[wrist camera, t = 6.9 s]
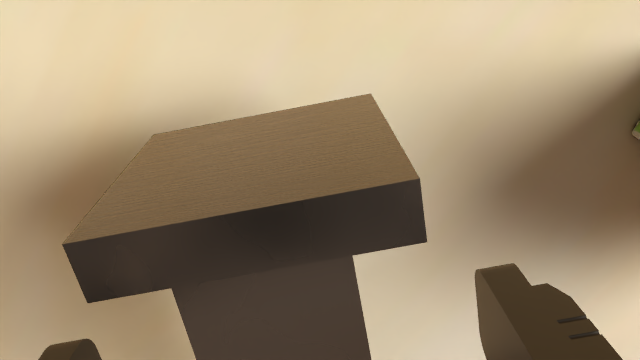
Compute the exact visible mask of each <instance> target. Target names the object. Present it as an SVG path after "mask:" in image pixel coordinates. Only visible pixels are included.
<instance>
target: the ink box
mask: <svg viewBox="0 0 640 360" xmlns="http://www.w3.org/2000/svg"><path fill="white" fill-rule="evenodd" d="M632 135H633V136H634V137H636V138H637V139H639V140H640V120H639V121H638V123H637V124H636V126H635V128H634V130H633V131H632Z"/></svg>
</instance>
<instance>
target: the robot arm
mask: <svg viewBox="0 0 640 360" xmlns="http://www.w3.org/2000/svg"><path fill="white" fill-rule="evenodd" d="M475 285H476V297H477V308H478V319H479V330H480V337H481V342H482V346H483V350H484V353H485V356H486V359H487V360H623V359H622V358H621V357H620V356H619V355H618V353H617V352H616V351H615V350H614V349H613V347H612V346H611V345H610V344H609V343H608V341H607V340H606V339H605V338H604V337H603V335H600V334H599V330H598V329H597V328H596V327H595V326H594V324H593V323H592V322H591V321H590V320H589V319H587V318H586V315H585V314H584V312H583V311H582V310H581V309H580V308H579V306H578V305H577V304H576V303H575V302H574V300H573V299H572V298H571V297H570V296H568V295H566V294H565V293H563V292H561V291H559V290H558V289H556V288H554V287H553V286H551V285H549V284H547V283H546V284H541V285H535V286H531V285H530V283H529V282H528V281H527V279H526V278H525V277H524V275H523V274H522V273H521V271H520V270H519V268H518V267H517V266H516V265H515V264H513V263H512V264H506V265H501V266H495V267H489V268H484V269H478V270H476V272H475ZM39 360H102V359H101V357H100V355H99V352H98V350H97V348H96V346H95V344H94V343H93V342H92V341H91V340H90V339H82V340H76V341H71V342H65V343H60V344H54V345H50V346H49V347H47V348H46V350H45V351H44V352H43V354H42V355H41V357H40V358H39Z"/></svg>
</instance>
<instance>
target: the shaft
mask: <svg viewBox="0 0 640 360" xmlns="http://www.w3.org/2000/svg"><path fill="white" fill-rule="evenodd" d="M424 242H427V237H426V228H425V220H424V211H423V203H422V194H421V186H420V178H419V176H418V175H417V173H416V171H415V169H414V168H413V166H412V164H411V163H410V161H409V159H408V157H407V156H406V154H405V152H404V150H403V149H402V147H401V145H400V143H399V142H398V140H397V138H396V136H395V135H394V133H393V131H392V130H391V128H390V126H389V124H388V123H387V121H386V119H385V117H384V116H383V114H382V112H381V110H380V109H379V107H378V105H377V103H376V102H375V100H374V98H373V96H372V95H371V94H366V95H361V96H355V97H350V98H345V99H340V100H334V101H329V102H324V103H319V104H313V105H308V106H303V107H297V108H292V109H287V110H282V111H276V112H271V113H266V114H261V115H255V116H250V117H245V118H240V119H234V120H229V121H224V122H218V123H213V124H208V125H203V126H197V127H192V128H187V129H182V130H176V131H171V132H166V133H161V134H155V135H153V136H152V137H151V139H150V140H149V141H148V142H147V143H146V145H145V146H144V147H143V148H142V149H141V151H140V152H139V153H138V154H137V155H136V157H135V158H134V159H133V160H132V161H131V163H130V164H129V165H128V166H127V167H126V168H125V170H124V171H123V172H122V173H121V174H120V176H119V177H118V178H117V179H116V180H115V182H114V183H113V184H112V185H111V186H110V188H109V189H108V190H107V191H106V192H105V194H104V195H103V196H102V197H101V198H100V200H99V201H98V202H97V203H96V204H95V206H94V207H93V208H92V209H91V210H90V212H89V213H88V214H87V215H86V216H85V218H84V219H83V220H82V221H81V222H80V224H79V225H78V226H77V227H76V228H75V230H74V231H73V232H72V233H71V234H70V236H69V237H68V238H67V239H66V240H65V242H64V243H63V244H62V245H63V247H64V250H65V252H66V254H67V257H68V259H69V261H70V264H71V266H72V268H73V271H74V273H75V275H76V278H77V280H78V282H79V284H80V287H81V289H82V291H83V294H84V296H85V298H86V301H87V303H92V302H97V301H103V300H108V299H114V298H119V297H125V296H130V295H136V294H142V293H147V292H153V291H158V290H164V289H169V288H172V291H173V294H174V297H175V300H176V303H177V306H178V308H179V311H180V314H181V317H182V320H183V323H184V325H185V328H186V331H187V334H188V337H189V340H190V343H191V345H192V348H193V351H194V354H195V357H196V360H371V355H370V350H369V344H368V339H367V333H366V328H365V322H364V317H363V311H362V306H361V301H360V295H359V290H358V284H357V279H356V273H355V268H354V262H353V257H352V255H358V254H363V253H369V252H374V251H380V250H386V249H391V248H397V247H402V246H408V245H413V244H419V243H424Z"/></svg>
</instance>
